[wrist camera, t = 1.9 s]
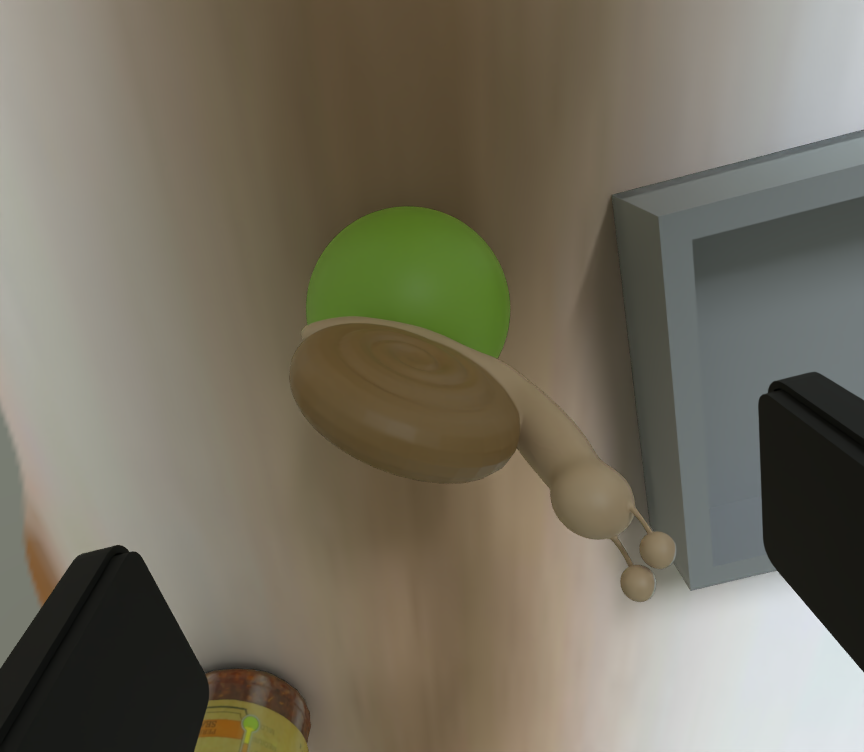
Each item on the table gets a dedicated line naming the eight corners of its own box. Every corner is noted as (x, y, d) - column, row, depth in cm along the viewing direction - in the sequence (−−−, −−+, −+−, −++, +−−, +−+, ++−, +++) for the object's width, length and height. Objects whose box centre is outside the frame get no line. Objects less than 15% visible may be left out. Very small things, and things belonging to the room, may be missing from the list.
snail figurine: (485, 389, 21) (595, 707, 10) (297, 336, 20) (196, 634, 9) (548, 235, 19) (767, 429, 8) (343, 165, 18) (286, 286, 7)
